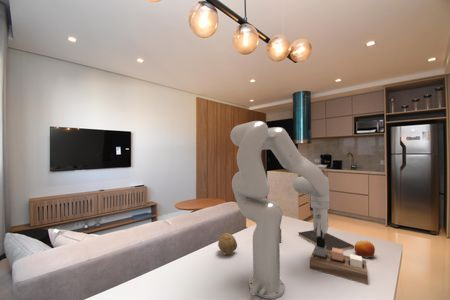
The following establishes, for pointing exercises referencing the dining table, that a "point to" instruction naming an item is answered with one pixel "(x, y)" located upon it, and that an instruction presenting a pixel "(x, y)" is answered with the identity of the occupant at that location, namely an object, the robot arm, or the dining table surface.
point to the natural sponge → (227, 243)
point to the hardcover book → (326, 241)
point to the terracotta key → (337, 254)
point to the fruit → (364, 249)
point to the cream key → (356, 261)
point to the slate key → (320, 251)
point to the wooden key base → (339, 267)
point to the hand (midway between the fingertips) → (320, 246)
